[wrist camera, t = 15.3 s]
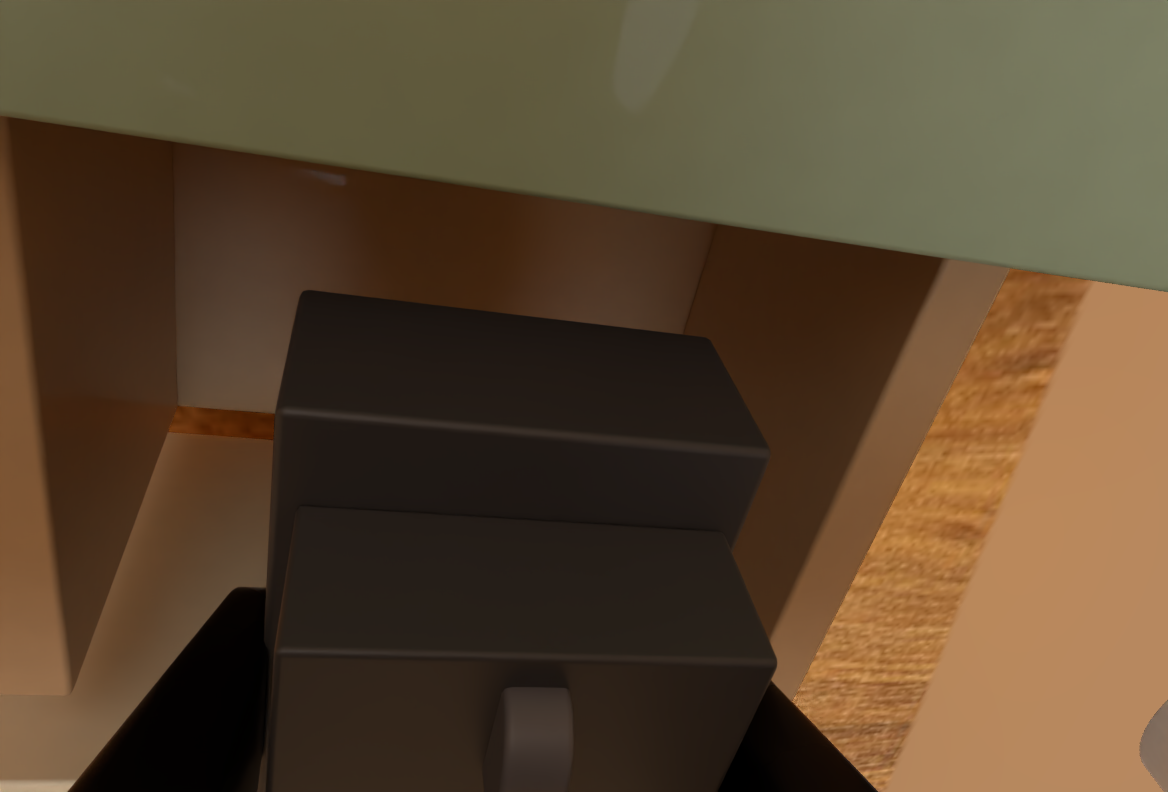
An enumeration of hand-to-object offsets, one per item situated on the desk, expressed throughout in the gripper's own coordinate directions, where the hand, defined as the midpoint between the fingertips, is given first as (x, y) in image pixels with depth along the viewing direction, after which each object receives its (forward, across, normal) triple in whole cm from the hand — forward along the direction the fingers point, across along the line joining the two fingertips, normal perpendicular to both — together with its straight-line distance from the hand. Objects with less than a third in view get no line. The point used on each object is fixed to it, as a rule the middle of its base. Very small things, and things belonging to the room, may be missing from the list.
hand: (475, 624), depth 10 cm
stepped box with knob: (+1, 0, 0) cm, 1 cm away
